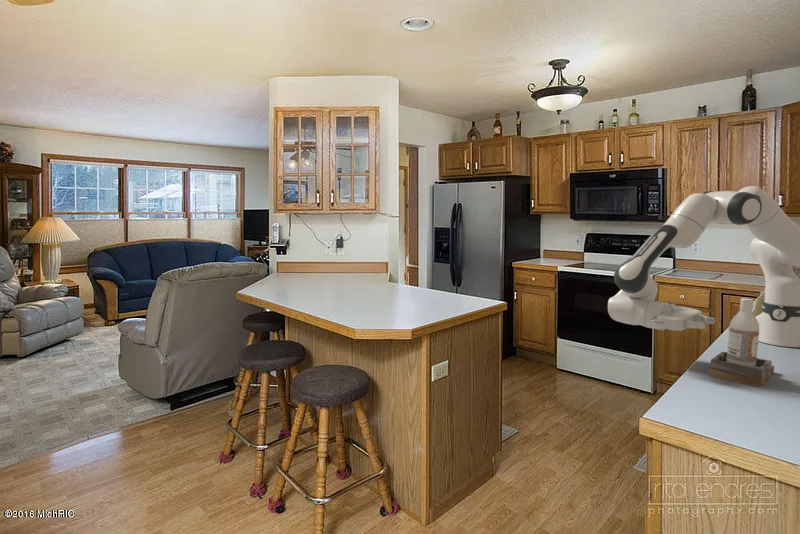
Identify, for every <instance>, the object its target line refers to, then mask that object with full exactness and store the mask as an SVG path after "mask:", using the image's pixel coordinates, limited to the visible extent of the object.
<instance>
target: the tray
mask: <svg viewBox="0 0 800 534" xmlns="http://www.w3.org/2000/svg"><path fill="white" fill-rule="evenodd" d="M726 360H727V351H721V352H720V353H718V354H717V355H716V356H714V357H713V358H711V359H710V367H709V368H708V376H709V377H714V378H717V379H722V380H727V381H731V382H735V383H740V384H744V385H749V386H753V387H757V388H760V387H761V386H762V385H763V384H764V383H765V382H766V381H767V380H768V379H769V378H770V377H771V376H772V375H773V374H774V372H775V365H772V361H773V360H768V359H765V358H763V359H762V358H758V357H757V359H756V367H755V368H754V367H749V366H744V365H739V364H734V363H729V362H726Z"/></svg>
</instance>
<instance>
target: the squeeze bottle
mask: <svg viewBox="0 0 800 534" xmlns="http://www.w3.org/2000/svg"><path fill="white" fill-rule="evenodd" d="M759 293H760V296H757V297H756V301H755V306H754V310H753V314H754V316H755V317H756V316H758V315H760V314H761V313H762V312H763V311H762V305H763V302H764V300H765V288H764V289H763V290H762V291H760V292H759Z"/></svg>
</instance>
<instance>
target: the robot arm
mask: <svg viewBox="0 0 800 534" xmlns="http://www.w3.org/2000/svg"><path fill="white" fill-rule="evenodd" d="M710 223H713V224H719V225H738V226H743V225H745V227H746V228H747V229H748V230H749V232H750V233H751V234H752V235H753V236H754V238H753V239H752V241H751V243H750V245H749V252H750V253H749V254H750V255H751V257H752V258H753V259H754V260H755V261H756V262H757V263H758V265H759V266H760V268H761V271H762V272H763V275H764V280H765V281H764V282H765V287H764V289H765V300H764V302H763V305H762V311H763V312H762V313H761V314H760V315H758V316H756V319H757V321H758V323H759V339H758V342H761V343H764V344H768V345H772V346H780V347H787V348H800V277H799V276H797V274H796V273H795V271H794V270H793V267H798V268H800V225H799V224H797V223H796V222H794V221H793V220H792V219H791V218H790V217H789V216H788V215H787V214H786V213H785V211H784V210H783V209H782V208H781V206H780V205H779V204H778V203H777V201H776V200H775V198H773V197H772V196H771V195H770V194H769V193H768V192H766V191H765V190H764V189H762V187H759V186H757V185H748V186H745V187H742V188H740V189H739V190H738V191H736V190H735V191H734V190H719V191H712V190H710V191H704V192H694V193H691V194H689V196H687V197H686V198H685V199H684V200H683V201H682V202H681V203H680V204H679V205H678V206H677V208H675V210H674V211H673V212H672V214H671V215H670V216H669V217H668V219H667V220H666V221H665V223H664V224H662V225H661V226H660V227H658V228H657V229H655V231H653V233H652V234H650V236H649V237H648V238H647V239H646V240H645V241H644V243H643V244H642V245H640V247H639V248H638V249H637V250H636V251H635V253H634V254H633V255H632V256H631V257H629V258H628V259H626V260H625V261H624V262H622V263H620V265H619V266H617V268H616V269H615V271H614V274H613V281H614V283H615V285H616V286H617V288H619V289H620V290H619V291H618V292H617V293H616V294H615V295H613V296H612V297H611V296H610V298H609V299H608V300H607V313H608V315H609V317H610V318H611V319H612V320H614V321H616V322H618V323H622V324H626V325H632V326H642V327H645V328H648V329H654V330H659V331H665V330H670V331H676V332H681V331H683V330H686V329H699V330H703V329H704V330H705V328H706V325H707V324H709V325H713V324H715V323H716V322H715V321H716V318H714V317H711V316H706V315H704V314H702V313H703V312H702V311H701V310H699V309H695V308H692V307H687V306H682V305H676V304H675V303H674V302H673V303H672V302H664V301H656V298H657V295H658V293H659V288H658V283H657V282H656V280H655V279H654V278H653V277H652V275H651V274H650V270H651V267H652V266H653V264H654V263H655V262H657V260H658V259H659V258H660V256H661V255H662V254H663V253H664V252H665V251H666V250H667V249H669V248H674V249H687V248H689V247H692V246H693V245H694V244H695V243H696V242H697V241H698V240H699V239H700V238H701V236H702V234H703V233H704V232H705V231H706V229H707V227H708V226H709V224H710Z"/></svg>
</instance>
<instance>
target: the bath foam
mask: <svg viewBox="0 0 800 534" xmlns="http://www.w3.org/2000/svg"><path fill="white" fill-rule="evenodd" d="M739 305H740V306H739V311H738V312H737V313H736V314H735V315H734V316H733V317H732V319H731V321H730V322H729V328H728V339H727V349H726V352H727V360H726V362H729V363H734V364H739V365H744V366H749V367H754V368H755V367H756V359H757V358H758V346H759V341H758V339H759V323H758V321H757V319H756V317H755V316H754V312H753V307H754V299H753V298H748V297H747V298H746V297H745V298H743V297H742V298H740V304H739Z"/></svg>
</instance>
